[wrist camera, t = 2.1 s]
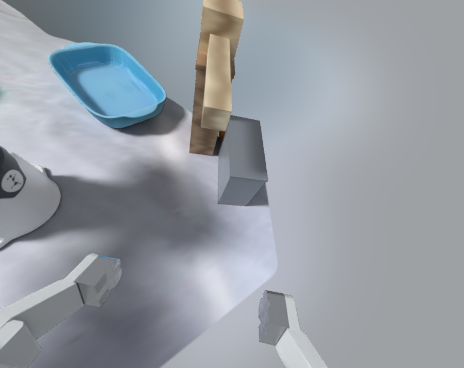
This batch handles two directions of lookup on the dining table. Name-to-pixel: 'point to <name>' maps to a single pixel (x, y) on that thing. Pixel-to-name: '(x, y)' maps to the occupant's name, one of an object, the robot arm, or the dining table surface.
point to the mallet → (219, 58)
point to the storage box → (241, 162)
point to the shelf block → (202, 137)
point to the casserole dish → (108, 83)
